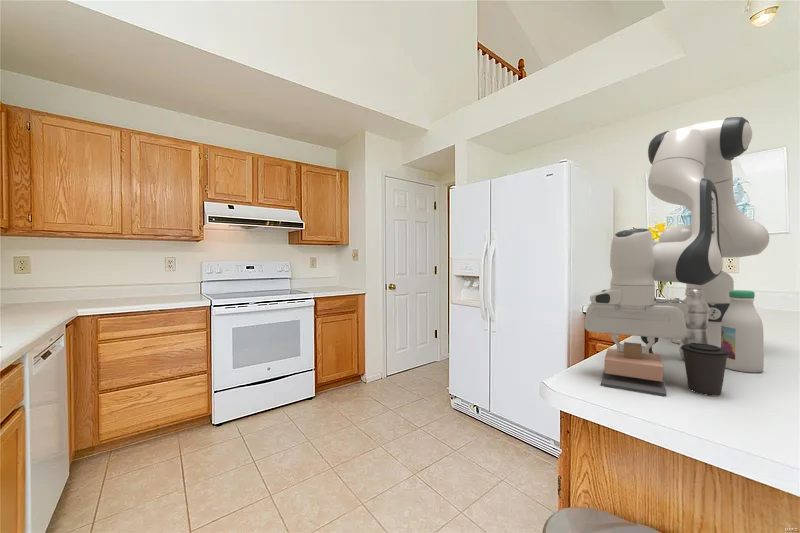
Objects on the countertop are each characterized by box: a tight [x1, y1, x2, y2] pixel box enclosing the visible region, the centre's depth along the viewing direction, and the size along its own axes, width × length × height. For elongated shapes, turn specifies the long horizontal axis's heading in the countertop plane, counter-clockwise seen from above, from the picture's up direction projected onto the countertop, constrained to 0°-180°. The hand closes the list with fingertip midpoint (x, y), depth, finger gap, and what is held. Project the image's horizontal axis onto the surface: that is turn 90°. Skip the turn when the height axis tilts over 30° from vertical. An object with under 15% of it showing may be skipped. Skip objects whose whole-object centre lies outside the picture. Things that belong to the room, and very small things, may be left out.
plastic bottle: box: [678, 288, 710, 360], centre depth 94 cm, size 6×7×20 cm
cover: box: [604, 341, 664, 382], centre depth 82 cm, size 11×11×6 cm
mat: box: [600, 368, 667, 397], centre depth 83 cm, size 18×12×1 cm, turn 145°
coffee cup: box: [679, 343, 730, 396], centre depth 74 cm, size 8×8×10 cm
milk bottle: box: [721, 289, 765, 374], centre depth 87 cm, size 8×8×20 cm
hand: (632, 353), depth 83 cm, fingers closed on cover, 3 cm apart
